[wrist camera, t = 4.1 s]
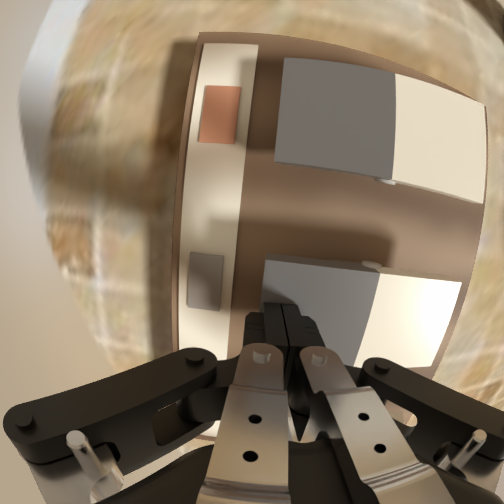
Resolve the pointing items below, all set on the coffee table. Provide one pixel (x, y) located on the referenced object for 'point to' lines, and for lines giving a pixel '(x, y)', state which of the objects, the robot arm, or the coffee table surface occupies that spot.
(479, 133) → the rocker
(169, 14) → the coffee table surface
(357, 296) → the rocker mid
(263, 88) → the switch console
